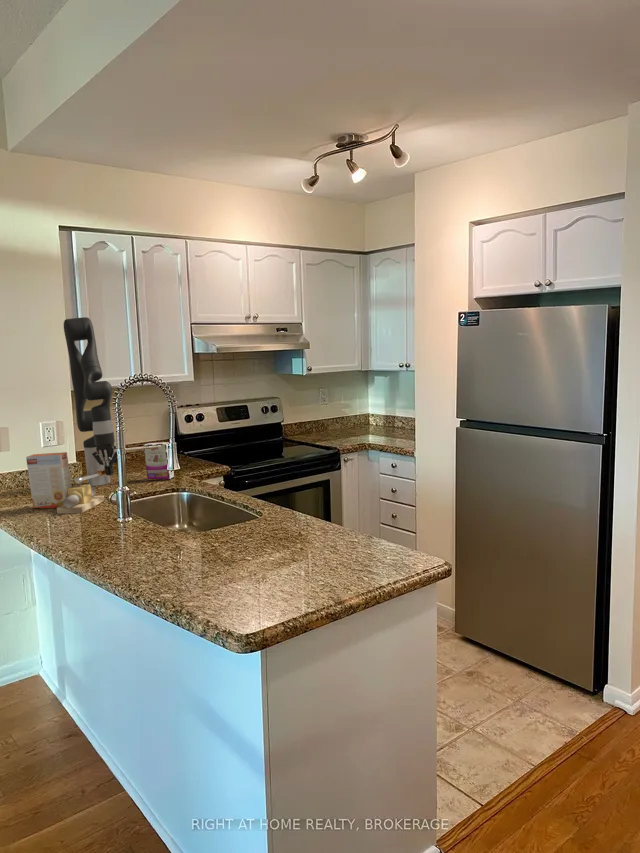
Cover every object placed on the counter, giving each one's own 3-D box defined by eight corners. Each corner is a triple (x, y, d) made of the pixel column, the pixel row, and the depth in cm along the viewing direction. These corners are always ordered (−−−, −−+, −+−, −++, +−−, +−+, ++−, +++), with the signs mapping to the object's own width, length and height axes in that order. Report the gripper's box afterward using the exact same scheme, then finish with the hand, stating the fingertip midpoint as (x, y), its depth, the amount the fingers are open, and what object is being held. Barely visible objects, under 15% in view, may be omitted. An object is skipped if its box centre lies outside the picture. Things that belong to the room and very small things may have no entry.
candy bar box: (174, 477, 283) (171, 441, 281) (169, 480, 278) (165, 443, 276) (152, 477, 286) (148, 442, 284) (147, 480, 281) (142, 444, 279)
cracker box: (74, 503, 248) (67, 451, 245) (67, 507, 242) (60, 454, 239) (41, 505, 249) (33, 453, 246) (32, 509, 243) (25, 456, 240)
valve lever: (78, 484, 238) (77, 478, 238) (73, 483, 239) (72, 478, 239) (110, 474, 253) (109, 469, 252) (105, 474, 254) (104, 469, 253)
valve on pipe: (81, 501, 250) (78, 479, 249) (104, 500, 249) (101, 478, 248) (57, 513, 234) (54, 490, 232) (82, 512, 232) (79, 489, 231)
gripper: (123, 430, 249) (129, 472, 251) (96, 431, 254) (102, 473, 256) (110, 433, 242) (116, 477, 244) (83, 434, 247) (89, 477, 249)
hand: (109, 475), depth 250 cm, fingers closed
